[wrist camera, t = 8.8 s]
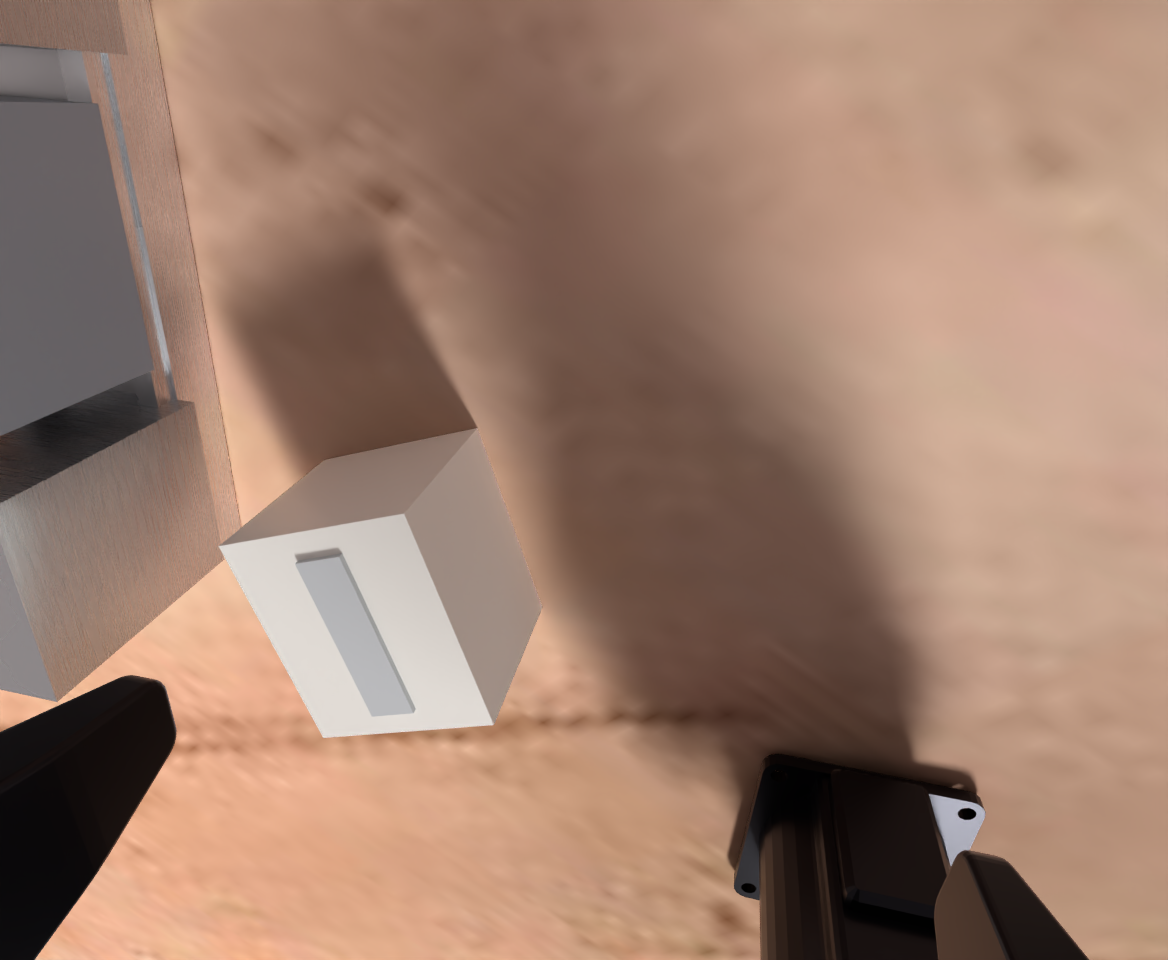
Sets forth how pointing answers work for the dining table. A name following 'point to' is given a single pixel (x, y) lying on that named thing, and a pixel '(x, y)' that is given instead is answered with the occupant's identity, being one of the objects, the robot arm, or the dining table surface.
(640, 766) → the dining table surface
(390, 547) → the block
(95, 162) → the block
